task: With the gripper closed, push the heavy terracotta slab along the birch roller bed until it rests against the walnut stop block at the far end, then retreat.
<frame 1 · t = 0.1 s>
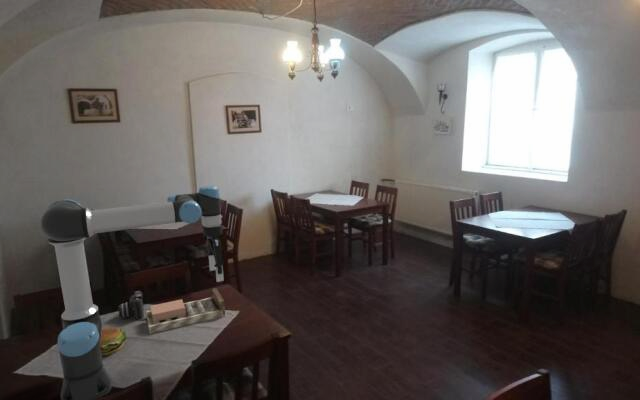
hand: (216, 275, 168), 28 cm above the table, fingers open, 13 cm apart
food: (108, 349, 168), on the table
camera: (132, 315, 197), on the table
slab: (168, 313, 190), point 3 cm above the table, touching roller bed
roller bed: (184, 317, 193), on the table
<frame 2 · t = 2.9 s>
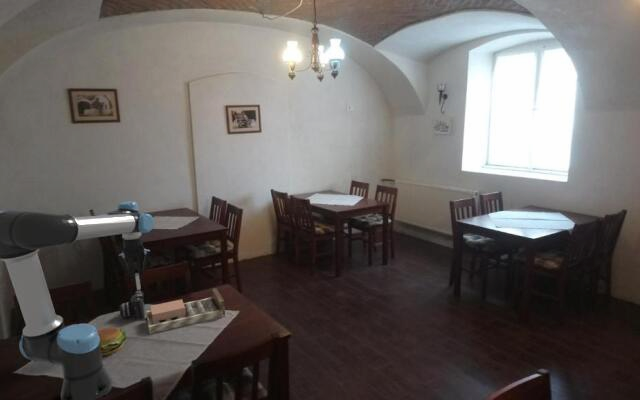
hand: (138, 288, 182), 18 cm above the table, fingers closed
nothing on the table moved.
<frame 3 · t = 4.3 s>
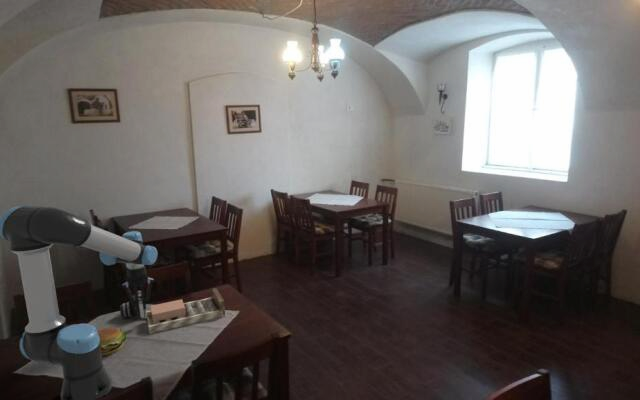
hand: (142, 316, 185), 5 cm above the table, fingers closed
nothing on the table moved.
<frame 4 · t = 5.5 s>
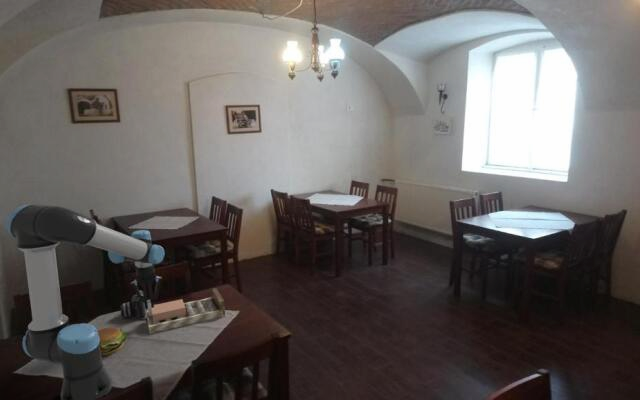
hand: (150, 314, 186), 5 cm above the table, fingers closed
slab: (168, 313, 190), point 3 cm above the table, touching gripper, roller bed
everything else where it was.
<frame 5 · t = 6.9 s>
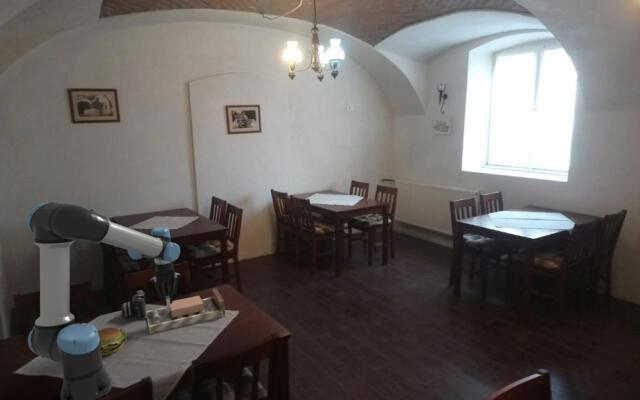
hand: (169, 310, 190), 5 cm above the table, fingers closed
slab: (186, 309, 193), point 3 cm above the table, touching gripper
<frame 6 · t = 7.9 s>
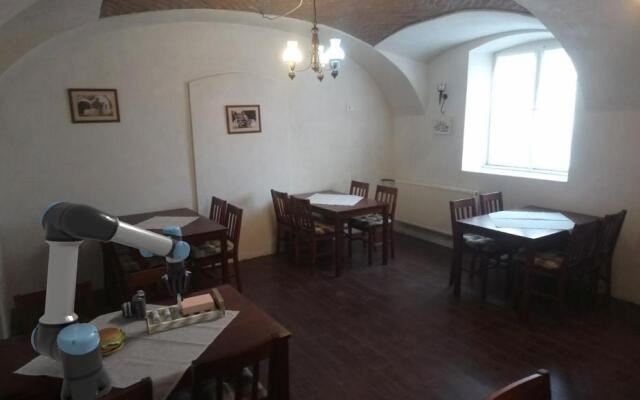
hand: (179, 308, 192), 5 cm above the table, fingers closed
slab: (197, 307, 195), point 3 cm above the table, touching gripper
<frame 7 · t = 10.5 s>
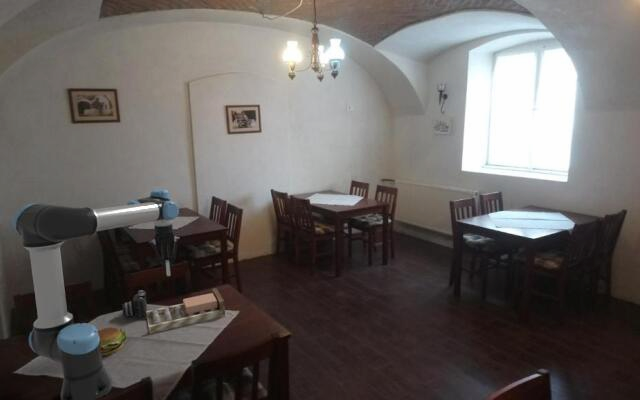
hand: (168, 274, 187), 22 cm above the table, fingers closed
slab: (200, 306, 196), point 3 cm above the table, touching roller bed
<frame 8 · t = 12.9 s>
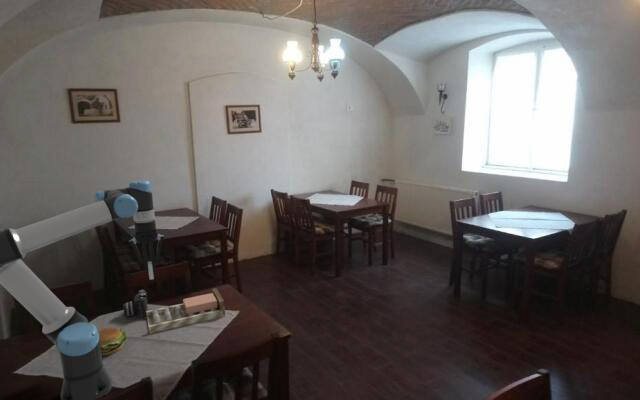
hand: (151, 278, 163), 29 cm above the table, fingers closed
at the end: slab 0.0 cm from the target spot on the roller bed, point 3.4 cm above the roller bed's base; slab tilted 0°; slab moved 14.5 cm from its start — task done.
